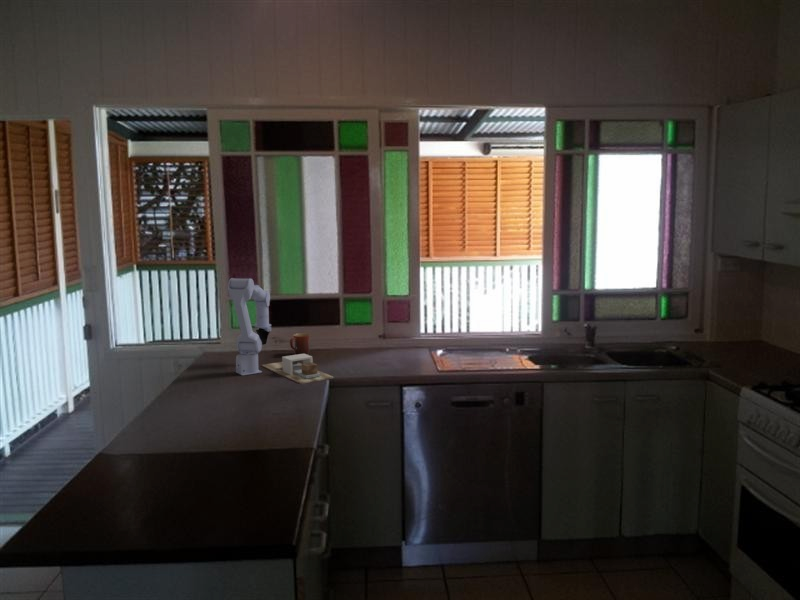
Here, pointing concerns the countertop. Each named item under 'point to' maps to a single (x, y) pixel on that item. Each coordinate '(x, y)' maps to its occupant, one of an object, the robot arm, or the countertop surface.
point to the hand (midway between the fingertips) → (263, 344)
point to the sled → (298, 370)
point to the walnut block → (309, 369)
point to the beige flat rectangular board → (297, 378)
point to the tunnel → (289, 359)
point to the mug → (300, 343)
